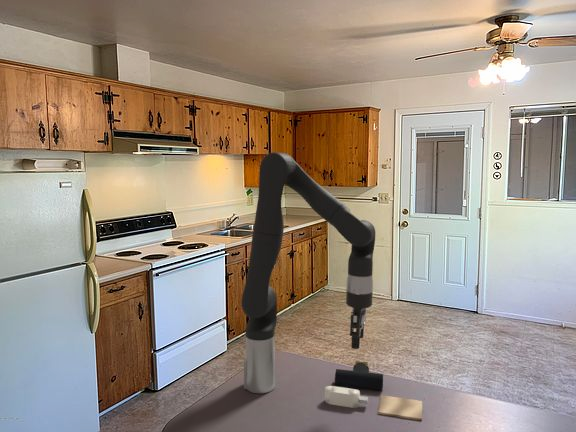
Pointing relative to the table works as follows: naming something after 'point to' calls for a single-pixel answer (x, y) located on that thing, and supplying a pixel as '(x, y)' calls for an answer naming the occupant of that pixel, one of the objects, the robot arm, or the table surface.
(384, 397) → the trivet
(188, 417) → the table surface
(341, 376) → the pipe connector
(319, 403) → the table surface
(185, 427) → the table surface
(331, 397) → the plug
